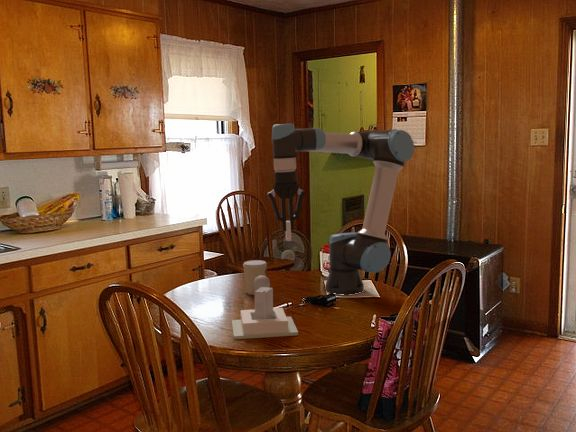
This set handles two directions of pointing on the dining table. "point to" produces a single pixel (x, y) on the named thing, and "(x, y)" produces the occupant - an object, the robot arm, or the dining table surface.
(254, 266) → the coffee cup
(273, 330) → the holder
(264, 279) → the lightbulb
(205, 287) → the dining table surface
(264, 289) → the skincare box
